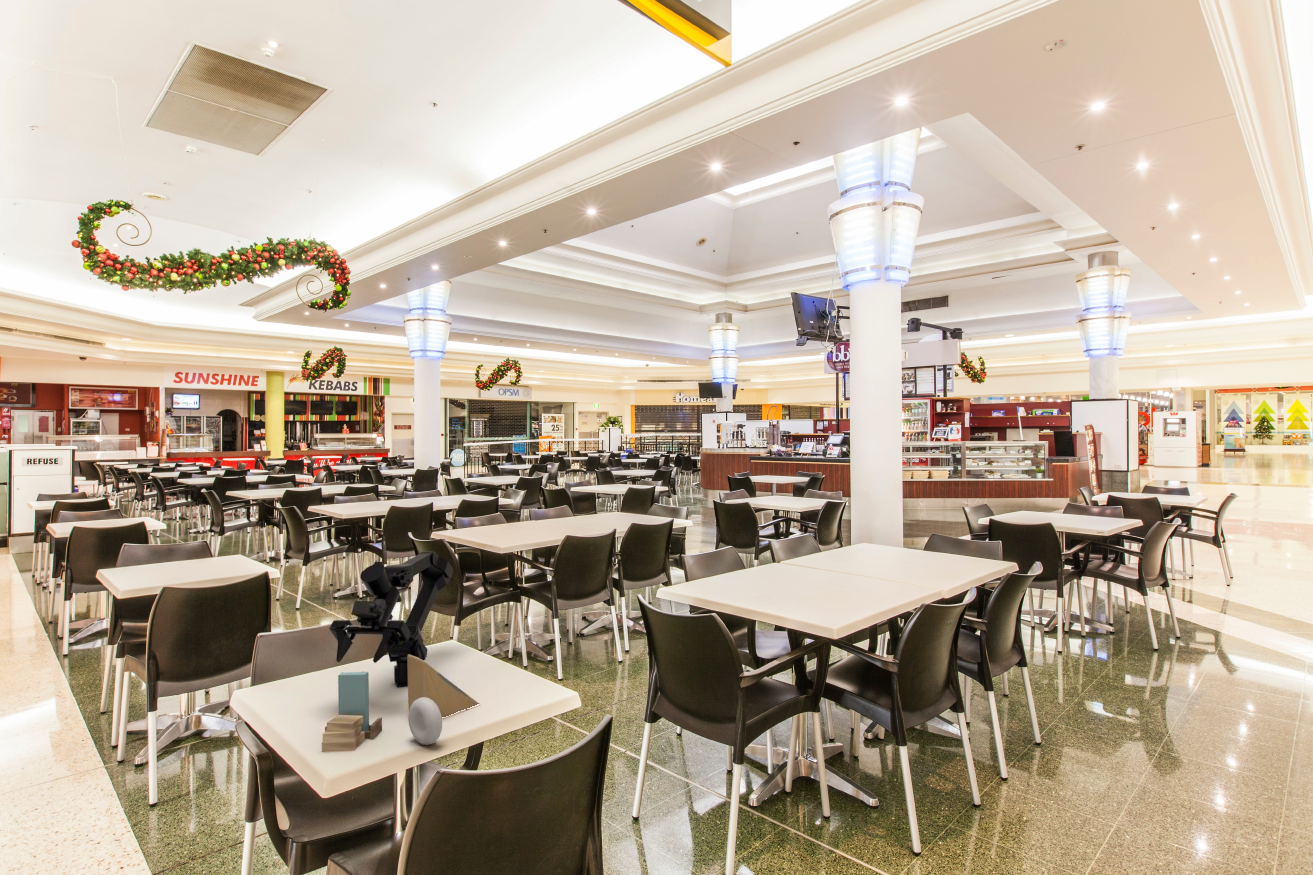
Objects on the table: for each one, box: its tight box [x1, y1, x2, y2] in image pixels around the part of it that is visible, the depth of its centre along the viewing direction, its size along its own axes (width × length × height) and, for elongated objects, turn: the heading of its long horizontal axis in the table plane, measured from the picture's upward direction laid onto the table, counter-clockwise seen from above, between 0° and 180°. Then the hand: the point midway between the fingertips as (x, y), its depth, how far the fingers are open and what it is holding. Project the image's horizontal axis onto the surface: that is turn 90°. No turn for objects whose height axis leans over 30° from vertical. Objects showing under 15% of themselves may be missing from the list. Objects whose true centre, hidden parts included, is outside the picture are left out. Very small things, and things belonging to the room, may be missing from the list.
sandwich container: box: [407, 654, 480, 718], centre depth 157 cm, size 9×15×15 cm, turn 137°
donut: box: [407, 697, 443, 746], centre depth 139 cm, size 10×4×10 cm, turn 54°
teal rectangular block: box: [337, 671, 370, 731], centre depth 143 cm, size 2×6×14 cm, turn 91°
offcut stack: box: [321, 714, 366, 753], centre depth 138 cm, size 5×7×6 cm
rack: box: [324, 716, 383, 740], centre depth 143 cm, size 4×11×3 cm, turn 91°
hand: (355, 661), depth 151 cm, fingers open, 9 cm apart
